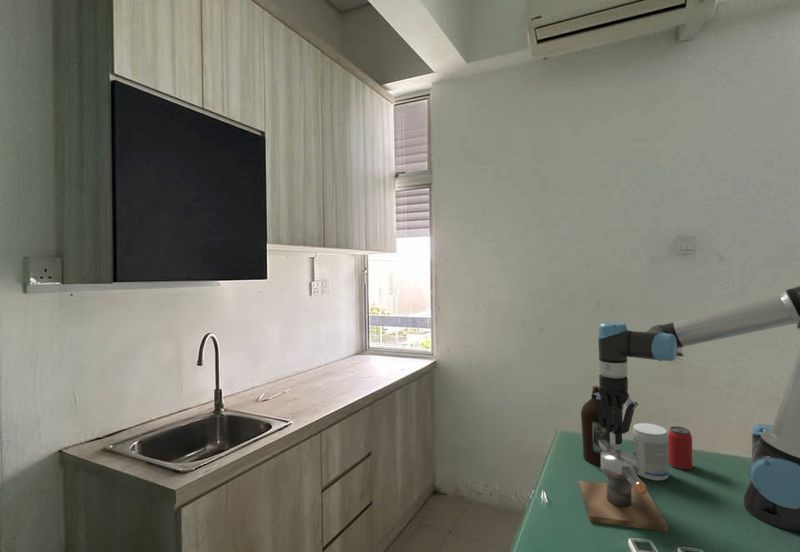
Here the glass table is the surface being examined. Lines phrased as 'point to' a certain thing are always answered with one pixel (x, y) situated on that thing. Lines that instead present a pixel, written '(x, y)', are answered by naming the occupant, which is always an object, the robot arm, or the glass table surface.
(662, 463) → the supplement tub
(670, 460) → the beer can
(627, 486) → the square wooden board
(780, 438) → the robot arm
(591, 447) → the olive oil
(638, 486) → the disc with handle bar
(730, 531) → the glass table surface
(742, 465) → the glass table surface
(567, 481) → the glass table surface
